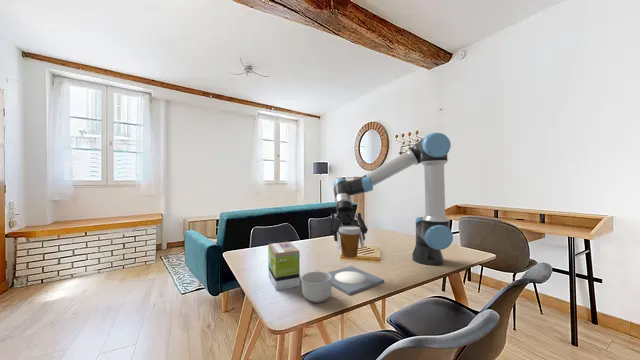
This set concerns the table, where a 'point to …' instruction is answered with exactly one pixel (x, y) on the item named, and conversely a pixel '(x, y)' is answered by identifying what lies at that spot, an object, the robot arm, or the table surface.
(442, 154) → the robot arm
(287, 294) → the table surface
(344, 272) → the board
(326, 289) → the teacup
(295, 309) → the table surface
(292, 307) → the table surface
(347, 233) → the disposable coffee cup
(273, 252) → the tea box
